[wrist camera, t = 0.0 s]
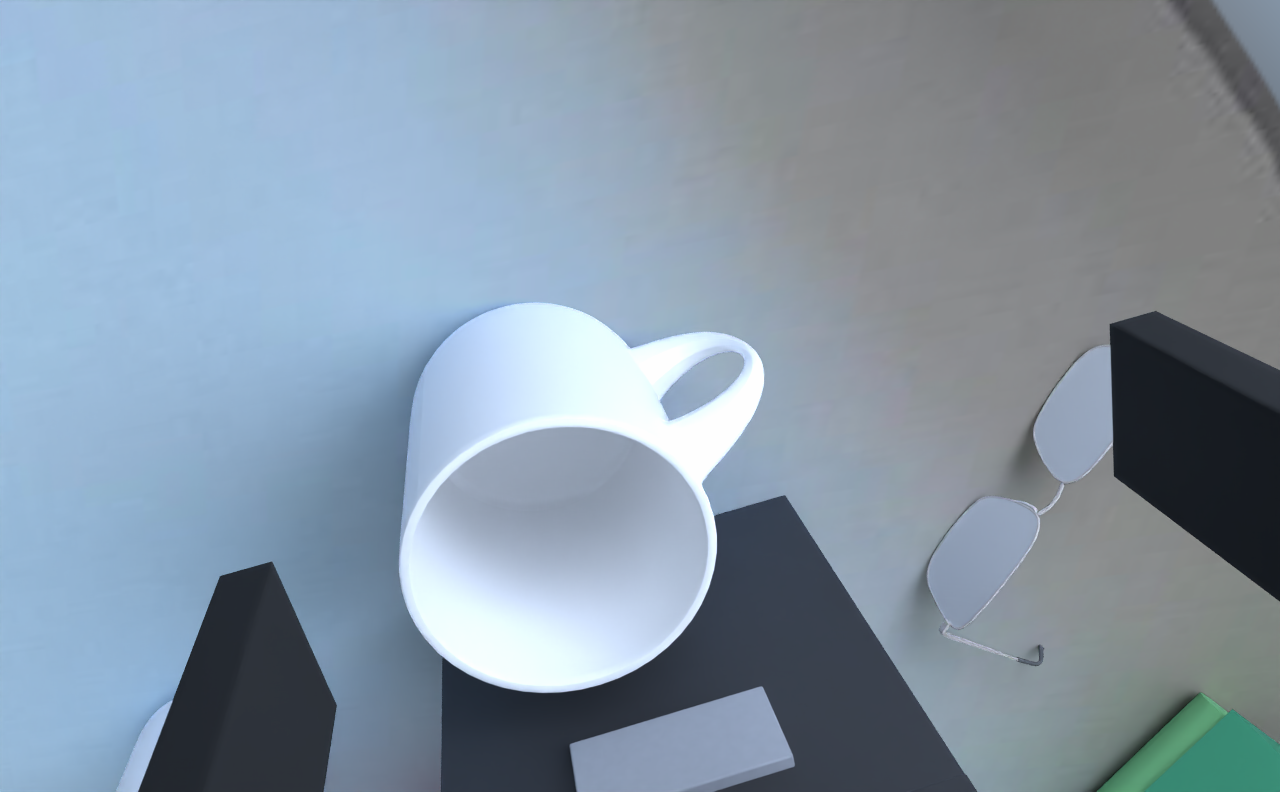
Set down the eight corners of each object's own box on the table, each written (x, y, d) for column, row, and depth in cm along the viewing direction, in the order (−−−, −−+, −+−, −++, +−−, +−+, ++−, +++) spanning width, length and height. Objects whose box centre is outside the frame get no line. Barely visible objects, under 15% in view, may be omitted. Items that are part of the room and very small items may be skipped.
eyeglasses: (1107, 314, 40) (1179, 353, 36) (1227, 394, 43) (1305, 436, 39) (902, 590, 43) (950, 650, 39) (1028, 644, 46) (1083, 704, 43)
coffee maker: (418, 529, 38) (385, 1148, 18) (772, 428, 39) (1114, 909, 19) (479, 692, 41) (506, 1367, 21) (804, 595, 42) (1123, 1154, 22)
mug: (764, 396, 38) (872, 540, 29) (492, 550, 39) (507, 743, 29) (662, 201, 35) (745, 289, 25) (363, 373, 35) (331, 525, 26)
